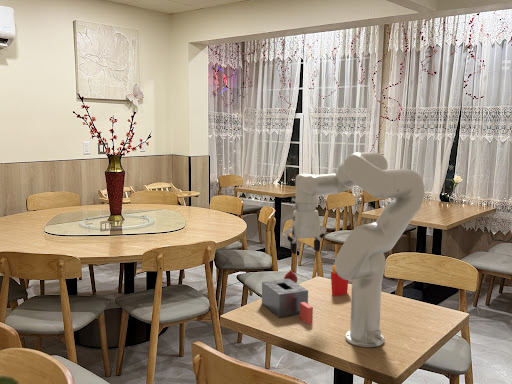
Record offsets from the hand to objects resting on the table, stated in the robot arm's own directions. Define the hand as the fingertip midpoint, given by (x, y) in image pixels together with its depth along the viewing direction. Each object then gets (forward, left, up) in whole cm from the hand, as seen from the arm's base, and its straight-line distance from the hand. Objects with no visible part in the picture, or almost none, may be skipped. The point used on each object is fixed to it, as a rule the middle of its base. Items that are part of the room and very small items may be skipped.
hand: (305, 252), depth 186 cm
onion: (+28, -8, -24) cm, 38 cm away
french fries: (+13, -24, -24) cm, 36 cm away
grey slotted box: (+6, +6, -24) cm, 25 cm away
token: (-8, +4, -24) cm, 25 cm away
